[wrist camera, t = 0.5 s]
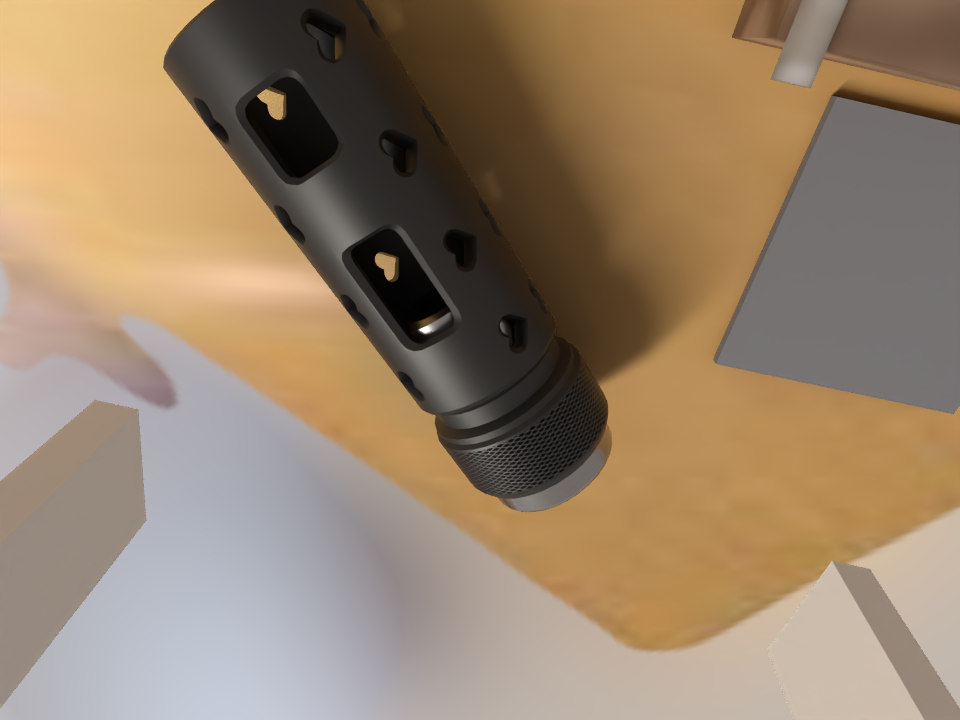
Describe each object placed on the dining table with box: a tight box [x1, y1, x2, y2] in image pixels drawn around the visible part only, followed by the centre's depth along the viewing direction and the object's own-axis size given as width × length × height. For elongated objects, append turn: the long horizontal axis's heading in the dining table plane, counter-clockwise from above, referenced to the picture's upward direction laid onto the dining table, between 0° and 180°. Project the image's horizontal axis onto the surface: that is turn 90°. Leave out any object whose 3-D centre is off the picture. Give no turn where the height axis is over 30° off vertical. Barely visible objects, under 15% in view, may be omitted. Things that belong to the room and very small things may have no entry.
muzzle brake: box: [163, 0, 612, 512], centre depth 32 cm, size 10×28×10 cm, turn 31°
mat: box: [713, 96, 960, 414], centre depth 35 cm, size 16×16×1 cm
